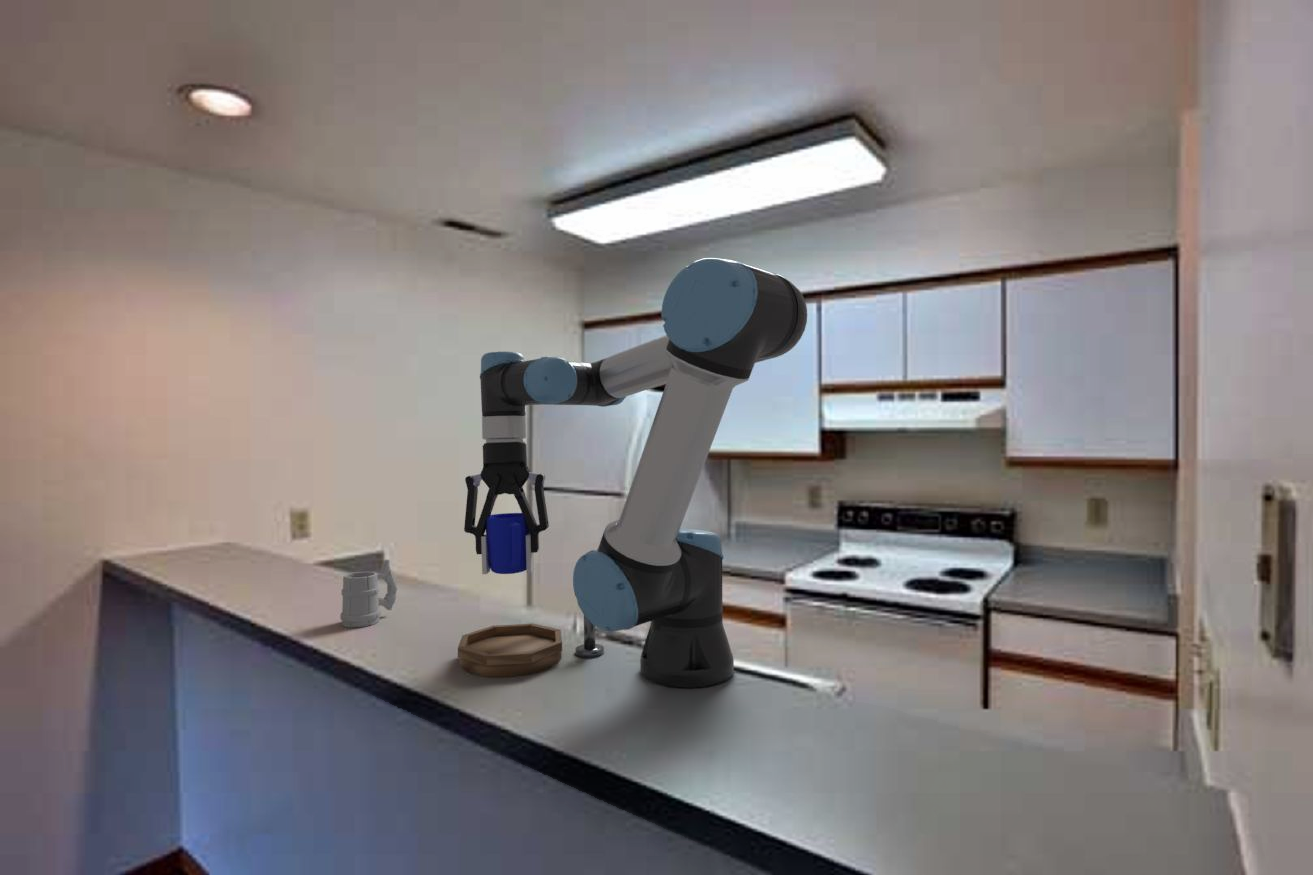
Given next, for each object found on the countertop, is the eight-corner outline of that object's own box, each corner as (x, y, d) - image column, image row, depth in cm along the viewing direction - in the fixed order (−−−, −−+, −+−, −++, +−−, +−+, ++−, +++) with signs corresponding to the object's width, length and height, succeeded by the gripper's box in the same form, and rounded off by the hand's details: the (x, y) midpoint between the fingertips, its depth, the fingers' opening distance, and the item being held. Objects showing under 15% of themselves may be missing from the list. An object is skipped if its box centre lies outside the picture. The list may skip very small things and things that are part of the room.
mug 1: (332, 623, 140) (331, 565, 140) (386, 611, 149) (385, 556, 149) (352, 630, 135) (351, 569, 135) (406, 616, 145) (405, 560, 145)
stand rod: (609, 651, 122) (609, 603, 122) (591, 659, 118) (590, 610, 118) (588, 646, 125) (587, 600, 125) (569, 653, 121) (569, 606, 120)
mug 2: (493, 582, 114) (491, 521, 114) (482, 570, 125) (481, 514, 125) (542, 577, 117) (540, 517, 117) (528, 565, 128) (526, 511, 128)
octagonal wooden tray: (581, 654, 120) (581, 634, 120) (508, 684, 106) (508, 662, 106) (514, 637, 130) (513, 619, 130) (438, 663, 116) (438, 642, 116)
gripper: (563, 439, 125) (567, 566, 125) (453, 442, 124) (457, 569, 125) (558, 439, 117) (562, 574, 117) (441, 442, 117) (445, 578, 117)
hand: (508, 571), depth 121 cm, fingers closed on mug 2, 7 cm apart
